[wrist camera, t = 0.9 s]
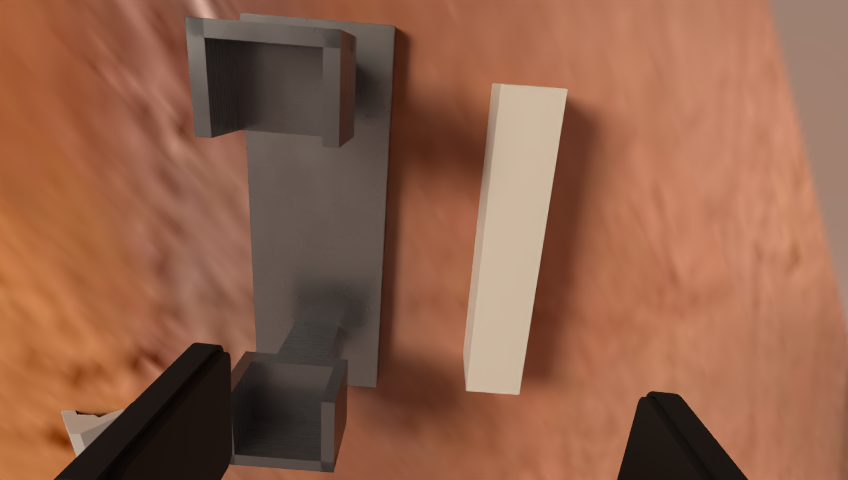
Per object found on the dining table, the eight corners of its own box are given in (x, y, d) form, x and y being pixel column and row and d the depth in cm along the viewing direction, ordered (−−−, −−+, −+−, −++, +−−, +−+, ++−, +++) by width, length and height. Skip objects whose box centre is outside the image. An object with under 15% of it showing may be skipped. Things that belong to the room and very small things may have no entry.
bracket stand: (247, 15, 31) (148, -17, 21) (396, 27, 32) (375, 2, 21) (262, 369, 41) (200, 476, 30) (377, 379, 41) (356, 489, 30)
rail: (491, 83, 33) (500, 84, 28) (548, 86, 33) (567, 89, 28) (462, 353, 40) (466, 390, 35) (509, 357, 40) (519, 394, 35)
